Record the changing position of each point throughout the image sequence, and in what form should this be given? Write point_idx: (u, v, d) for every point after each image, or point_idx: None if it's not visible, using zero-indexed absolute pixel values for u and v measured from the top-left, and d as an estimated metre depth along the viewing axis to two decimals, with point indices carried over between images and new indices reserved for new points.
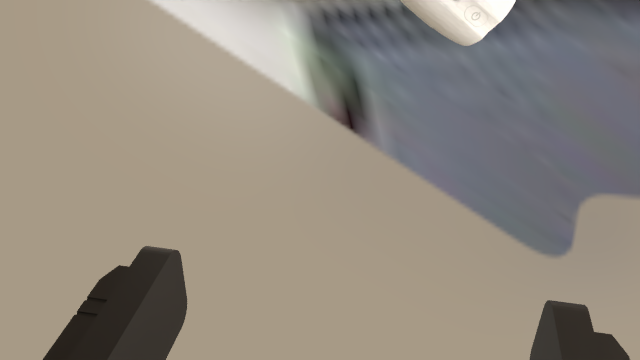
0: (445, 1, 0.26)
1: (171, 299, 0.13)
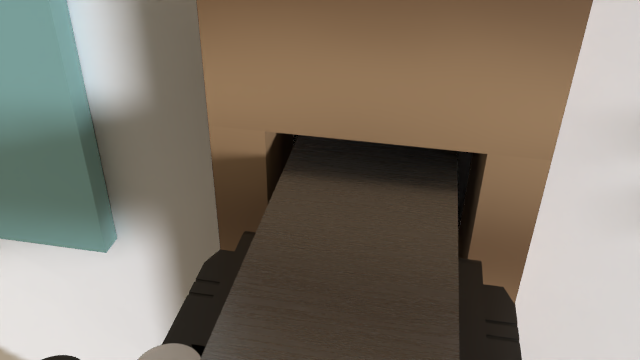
0: None
1: None
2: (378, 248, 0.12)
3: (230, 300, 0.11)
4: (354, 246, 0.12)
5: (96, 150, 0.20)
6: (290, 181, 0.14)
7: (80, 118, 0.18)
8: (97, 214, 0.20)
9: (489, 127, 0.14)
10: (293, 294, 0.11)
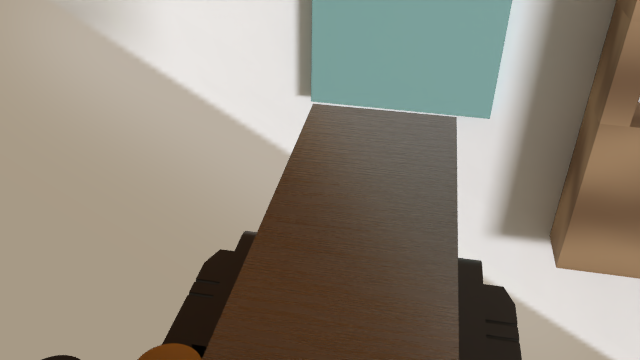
0: None
1: None
2: (377, 251, 0.12)
3: (230, 303, 0.11)
4: (354, 248, 0.12)
5: None
6: (290, 183, 0.14)
7: None
8: (494, 91, 0.33)
9: None
10: (292, 296, 0.11)
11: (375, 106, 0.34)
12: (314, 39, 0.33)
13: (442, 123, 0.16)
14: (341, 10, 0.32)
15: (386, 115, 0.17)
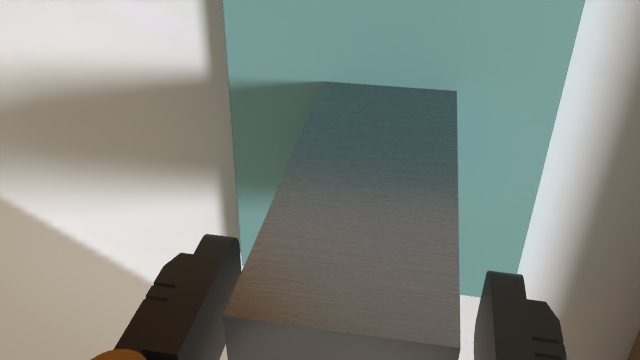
0: None
1: (231, 285, 0.14)
2: (386, 202, 0.13)
3: (256, 245, 0.12)
4: (365, 201, 0.13)
5: None
6: (305, 148, 0.15)
7: None
8: None
9: None
10: (311, 239, 0.12)
11: None
12: (240, 185, 0.21)
13: (443, 96, 0.18)
14: (278, 148, 0.20)
15: (392, 90, 0.18)
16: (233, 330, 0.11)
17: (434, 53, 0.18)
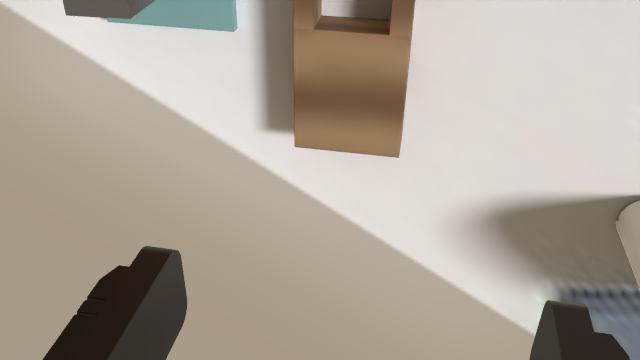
0: None
1: (171, 299, 0.13)
2: None
3: None
4: None
5: None
6: None
7: None
8: (232, 10, 0.44)
9: None
10: None
11: (153, 24, 0.46)
12: None
13: None
14: None
15: None
16: None
17: None
